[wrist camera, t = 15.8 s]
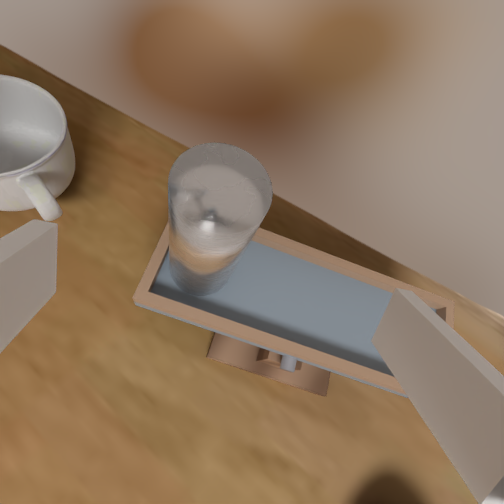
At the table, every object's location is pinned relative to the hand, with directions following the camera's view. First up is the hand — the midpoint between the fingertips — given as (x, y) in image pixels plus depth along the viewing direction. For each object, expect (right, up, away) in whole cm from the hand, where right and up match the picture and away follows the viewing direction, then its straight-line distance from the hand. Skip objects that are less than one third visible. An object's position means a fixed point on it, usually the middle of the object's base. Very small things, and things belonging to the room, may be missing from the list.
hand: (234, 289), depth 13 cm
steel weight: (-3, 0, +14) cm, 14 cm away
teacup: (-21, +8, +20) cm, 30 cm away
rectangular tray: (+5, -3, +16) cm, 17 cm away
